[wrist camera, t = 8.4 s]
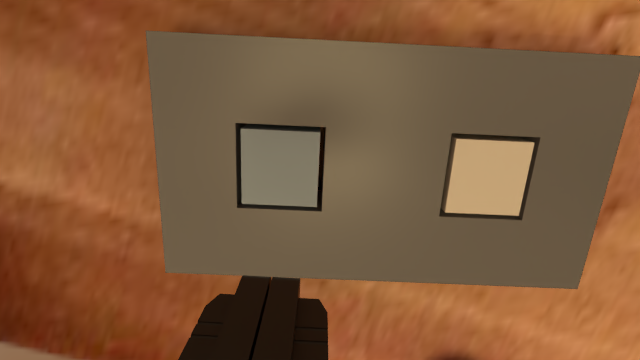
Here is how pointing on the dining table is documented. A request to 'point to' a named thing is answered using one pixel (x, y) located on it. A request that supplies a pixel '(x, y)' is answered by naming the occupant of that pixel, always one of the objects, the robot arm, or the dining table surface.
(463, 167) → the tan square block
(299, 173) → the gray key
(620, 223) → the dining table surface
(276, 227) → the key panel
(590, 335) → the dining table surface
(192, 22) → the dining table surface
